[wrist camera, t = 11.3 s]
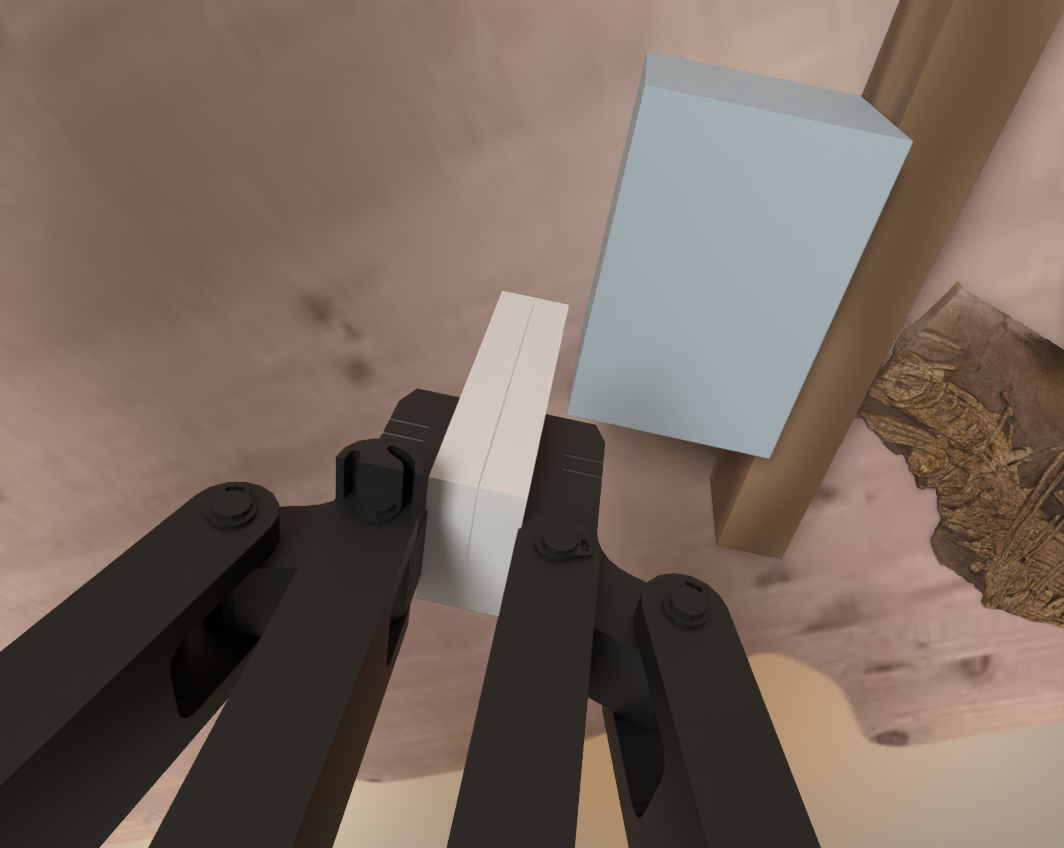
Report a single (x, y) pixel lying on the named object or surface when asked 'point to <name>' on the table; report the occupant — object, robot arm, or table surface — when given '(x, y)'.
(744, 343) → the block
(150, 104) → the table surface
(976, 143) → the stop board
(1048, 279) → the table surface
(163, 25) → the table surface
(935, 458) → the wooden fragment
